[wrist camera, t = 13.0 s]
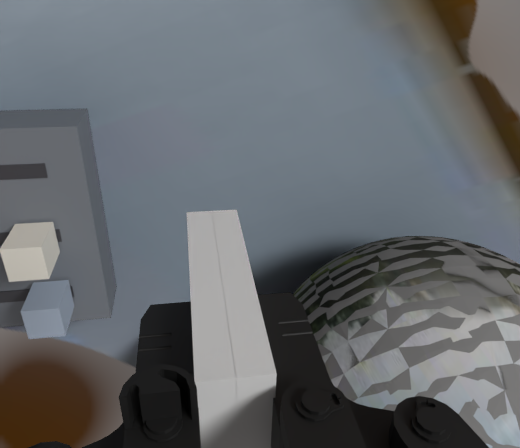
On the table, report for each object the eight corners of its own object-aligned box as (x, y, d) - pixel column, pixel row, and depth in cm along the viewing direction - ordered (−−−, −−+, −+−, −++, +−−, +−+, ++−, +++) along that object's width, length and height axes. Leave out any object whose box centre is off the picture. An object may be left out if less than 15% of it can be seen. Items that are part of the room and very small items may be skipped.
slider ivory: (15, 223, 39) (-1, 249, 35) (53, 221, 39) (41, 246, 36) (23, 254, 40) (9, 281, 37) (59, 251, 41) (49, 278, 37)
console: (-112, 113, 38) (-150, 133, 34) (87, 108, 40) (76, 126, 36) (-42, 299, 47) (-65, 333, 43) (116, 286, 50) (110, 318, 45)
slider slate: (33, 282, 42) (20, 311, 38) (68, 279, 42) (58, 308, 39) (40, 308, 43) (28, 339, 40) (74, 306, 44) (65, 335, 40)
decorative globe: (410, 398, 66) (560, 677, 41) (206, 372, 58) (232, 705, 32) (531, 219, 54) (858, 456, 28) (294, 149, 45) (454, 402, 19)
